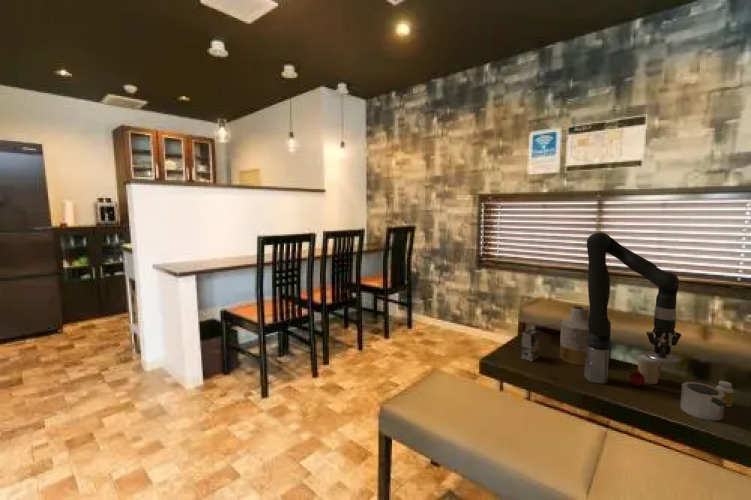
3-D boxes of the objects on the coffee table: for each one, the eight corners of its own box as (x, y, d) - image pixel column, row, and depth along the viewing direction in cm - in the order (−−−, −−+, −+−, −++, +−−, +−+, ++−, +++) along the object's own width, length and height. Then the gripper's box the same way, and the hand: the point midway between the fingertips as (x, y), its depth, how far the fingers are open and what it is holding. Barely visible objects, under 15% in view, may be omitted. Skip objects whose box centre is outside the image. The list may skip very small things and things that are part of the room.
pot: (738, 425, 140) (740, 401, 139) (703, 424, 141) (705, 400, 140) (698, 400, 159) (700, 379, 158) (667, 399, 160) (669, 378, 159)
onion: (645, 389, 169) (646, 374, 168) (630, 386, 172) (631, 371, 171) (643, 384, 174) (644, 369, 173) (629, 382, 177) (630, 366, 176)
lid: (657, 363, 154) (658, 348, 153) (639, 352, 166) (640, 338, 165) (686, 363, 153) (687, 348, 152) (666, 352, 165) (667, 338, 164)
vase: (557, 360, 204) (559, 309, 200) (561, 350, 219) (563, 302, 215) (594, 368, 193) (597, 314, 190) (596, 356, 208) (599, 306, 205)
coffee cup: (663, 385, 173) (665, 362, 172) (642, 384, 175) (643, 360, 174) (653, 377, 182) (654, 354, 181) (632, 375, 184) (634, 353, 183)
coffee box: (531, 362, 202) (532, 335, 201) (521, 358, 207) (521, 332, 205) (538, 357, 209) (539, 331, 207) (528, 354, 213) (528, 328, 212)
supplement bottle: (728, 408, 153) (730, 386, 152) (712, 402, 158) (714, 381, 157) (734, 405, 155) (736, 384, 154) (718, 399, 160) (720, 379, 159)
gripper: (654, 319, 154) (651, 357, 156) (688, 319, 153) (685, 357, 155) (642, 314, 162) (640, 350, 164) (675, 314, 161) (672, 351, 163)
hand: (662, 353), depth 159 cm, fingers closed on lid, 3 cm apart
